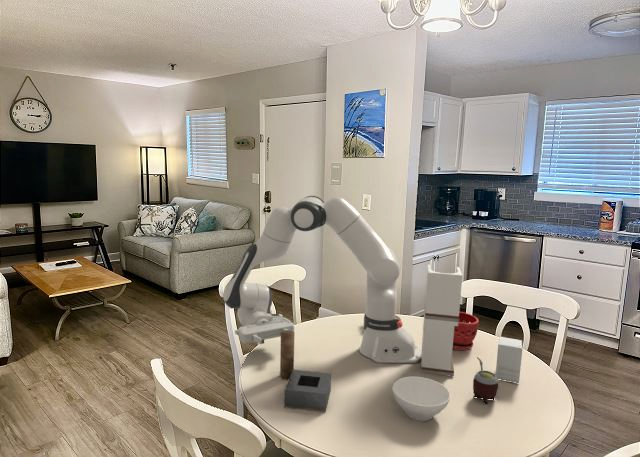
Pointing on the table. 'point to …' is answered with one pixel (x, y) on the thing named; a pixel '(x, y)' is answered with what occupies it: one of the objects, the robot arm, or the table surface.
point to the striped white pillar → (440, 321)
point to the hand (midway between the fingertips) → (275, 339)
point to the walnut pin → (287, 354)
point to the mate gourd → (485, 384)
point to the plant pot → (465, 331)
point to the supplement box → (509, 359)
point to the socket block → (307, 391)
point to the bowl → (420, 397)
